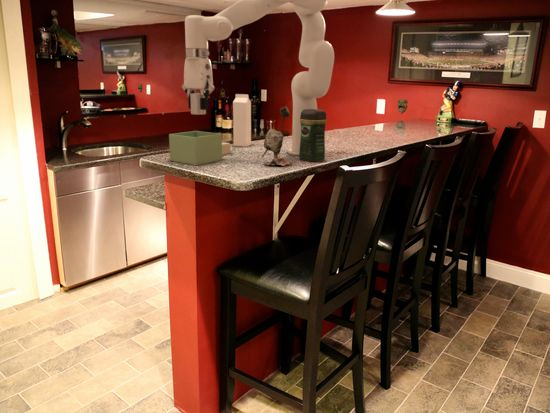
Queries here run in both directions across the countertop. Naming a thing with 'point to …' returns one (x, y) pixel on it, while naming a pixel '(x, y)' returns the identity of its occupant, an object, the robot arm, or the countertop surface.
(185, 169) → the countertop surface
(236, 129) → the milk
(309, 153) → the coffee jar
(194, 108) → the empty can
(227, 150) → the beige grey block
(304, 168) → the countertop surface
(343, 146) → the countertop surface
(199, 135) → the bin
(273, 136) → the plant with pod
